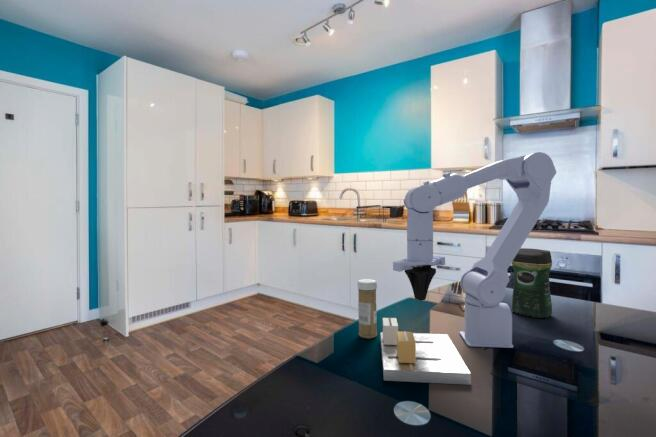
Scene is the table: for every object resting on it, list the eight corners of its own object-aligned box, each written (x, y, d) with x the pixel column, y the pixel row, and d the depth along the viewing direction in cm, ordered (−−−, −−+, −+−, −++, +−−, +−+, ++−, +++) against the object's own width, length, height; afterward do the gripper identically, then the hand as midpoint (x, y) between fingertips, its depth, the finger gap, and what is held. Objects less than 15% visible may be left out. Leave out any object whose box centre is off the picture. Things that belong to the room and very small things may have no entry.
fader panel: (447, 343, 77) (447, 333, 77) (470, 384, 60) (470, 372, 59) (380, 340, 79) (380, 331, 79) (383, 380, 61) (383, 368, 61)
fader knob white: (396, 335, 76) (396, 317, 76) (398, 344, 71) (398, 325, 71) (382, 335, 77) (382, 317, 76) (383, 344, 72) (383, 324, 71)
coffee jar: (555, 315, 96) (556, 249, 95) (544, 321, 91) (545, 251, 90) (519, 307, 103) (519, 246, 102) (507, 312, 98) (507, 248, 97)
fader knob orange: (412, 351, 68) (412, 331, 68) (415, 363, 63) (415, 341, 63) (396, 351, 68) (396, 330, 68) (399, 362, 63) (399, 340, 63)
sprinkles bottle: (381, 336, 82) (380, 280, 81) (366, 340, 79) (365, 283, 79) (368, 330, 86) (368, 277, 85) (354, 334, 83) (353, 279, 83)
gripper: (409, 243, 70) (409, 309, 71) (456, 239, 78) (455, 298, 78) (386, 240, 76) (386, 301, 77) (431, 236, 84) (431, 291, 84)
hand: (420, 299), depth 78 cm, fingers closed
